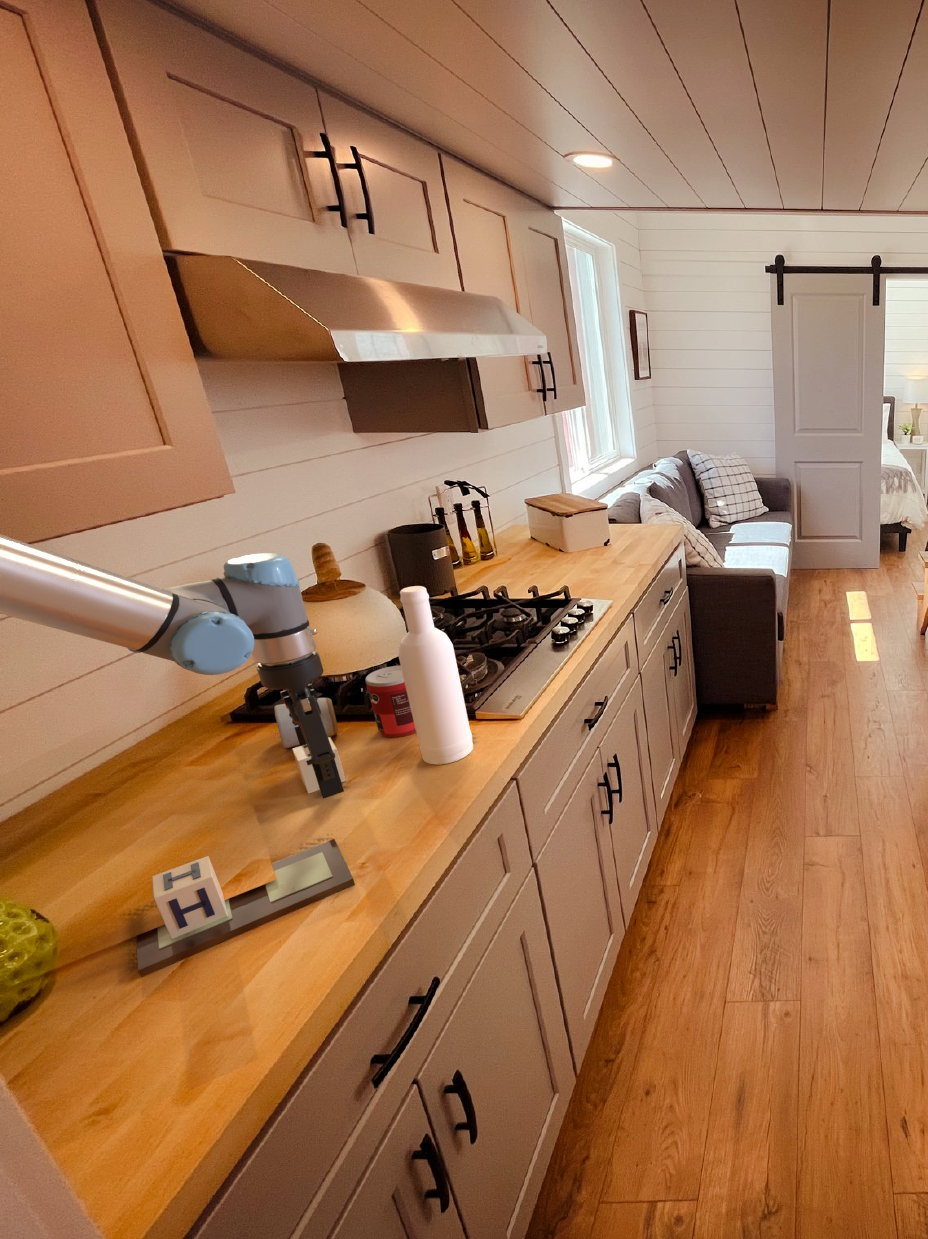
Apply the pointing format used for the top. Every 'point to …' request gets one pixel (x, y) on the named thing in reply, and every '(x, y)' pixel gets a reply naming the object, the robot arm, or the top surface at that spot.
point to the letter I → (308, 771)
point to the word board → (253, 906)
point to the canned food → (390, 702)
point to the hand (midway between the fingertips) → (324, 776)
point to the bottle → (432, 683)
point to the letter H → (189, 897)
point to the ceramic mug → (288, 727)
